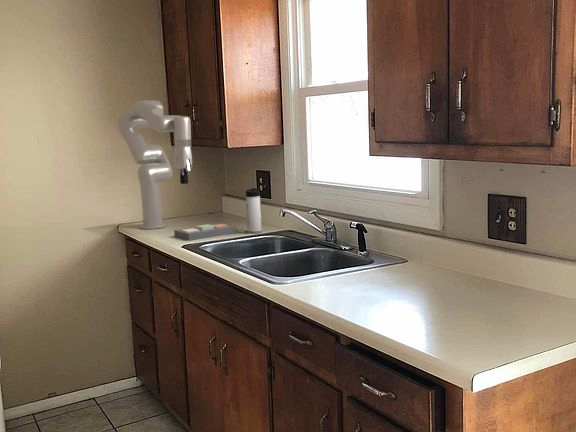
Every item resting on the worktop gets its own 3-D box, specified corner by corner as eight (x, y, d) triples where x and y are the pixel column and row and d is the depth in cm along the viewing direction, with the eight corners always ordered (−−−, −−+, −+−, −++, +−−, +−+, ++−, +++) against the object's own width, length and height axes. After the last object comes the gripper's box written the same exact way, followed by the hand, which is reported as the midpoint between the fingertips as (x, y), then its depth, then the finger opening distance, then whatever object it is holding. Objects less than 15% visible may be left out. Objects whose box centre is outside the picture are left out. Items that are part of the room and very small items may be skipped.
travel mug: (262, 230, 301) (260, 187, 298) (260, 233, 295) (258, 189, 292) (249, 231, 302) (247, 188, 299) (246, 233, 295) (244, 189, 292)
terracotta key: (210, 230, 302) (210, 225, 301) (222, 228, 305) (221, 223, 305) (217, 232, 297) (217, 227, 296) (228, 230, 300) (228, 225, 300)
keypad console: (174, 236, 295) (174, 230, 295) (220, 229, 309) (219, 223, 309) (189, 240, 284) (188, 233, 284) (236, 233, 298) (235, 226, 298)
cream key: (181, 235, 293) (181, 230, 292) (193, 233, 296) (192, 228, 296) (187, 236, 288) (187, 231, 287) (199, 234, 291) (199, 229, 291)
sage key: (196, 231, 297) (195, 226, 297) (207, 229, 300) (207, 224, 300) (202, 232, 292) (202, 227, 292) (214, 230, 296) (213, 225, 295)
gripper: (168, 143, 301) (169, 182, 304) (182, 145, 289) (184, 186, 292) (183, 142, 305) (184, 181, 308) (197, 144, 293) (199, 184, 296)
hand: (184, 183), depth 300 cm, fingers closed
